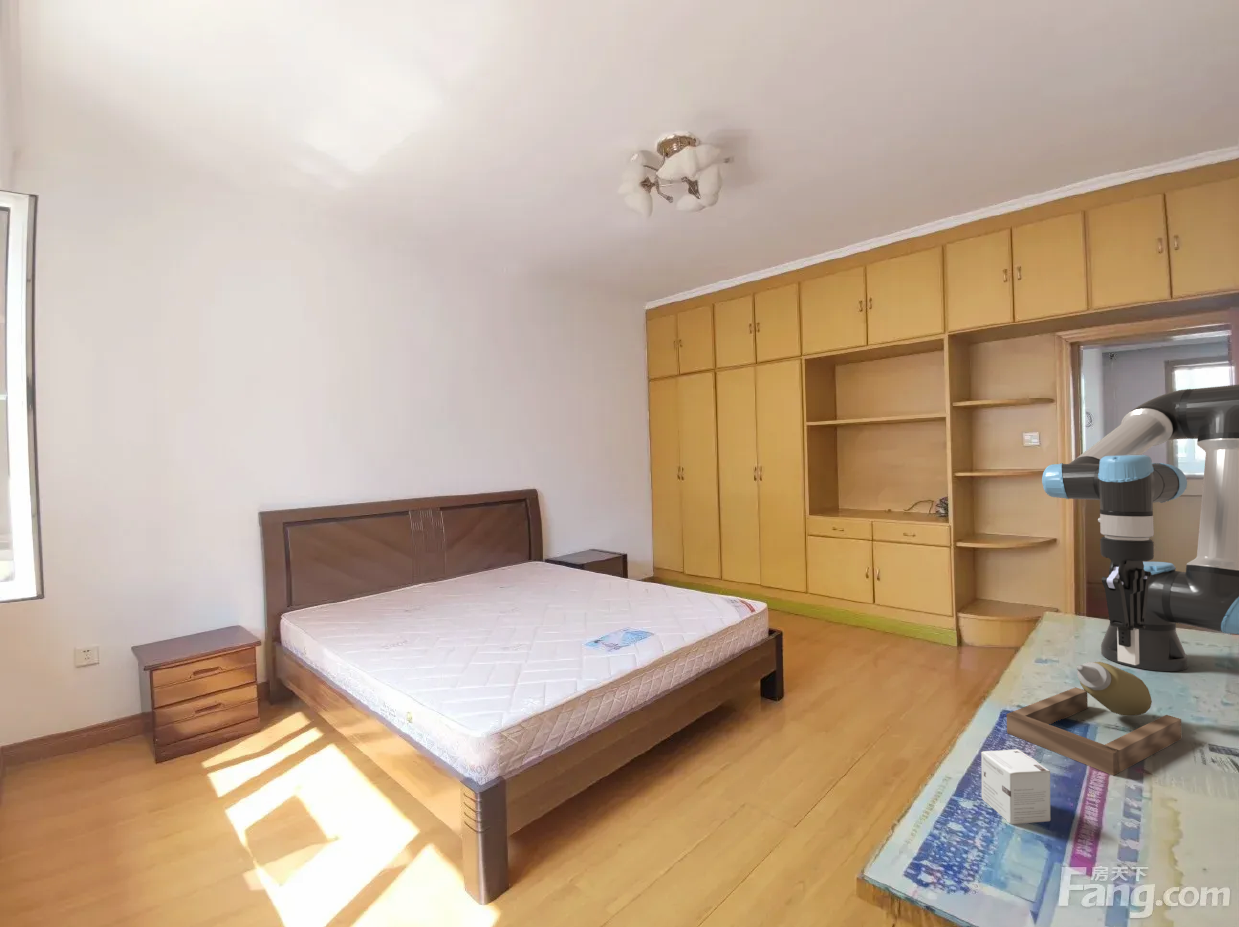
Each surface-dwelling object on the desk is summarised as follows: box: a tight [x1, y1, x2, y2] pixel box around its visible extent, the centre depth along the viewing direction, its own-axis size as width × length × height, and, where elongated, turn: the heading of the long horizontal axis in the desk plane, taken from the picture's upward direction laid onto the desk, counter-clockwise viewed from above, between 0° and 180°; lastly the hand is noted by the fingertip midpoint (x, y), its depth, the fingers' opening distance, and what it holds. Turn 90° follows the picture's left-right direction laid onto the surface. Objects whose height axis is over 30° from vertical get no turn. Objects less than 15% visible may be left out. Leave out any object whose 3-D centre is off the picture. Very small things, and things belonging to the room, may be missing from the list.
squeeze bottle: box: [1076, 661, 1153, 716], centre depth 106 cm, size 8×8×18 cm
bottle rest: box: [1006, 686, 1182, 776], centre depth 103 cm, size 23×16×4 cm
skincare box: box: [980, 748, 1051, 825], centre depth 83 cm, size 6×6×7 cm
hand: (1128, 662), depth 108 cm, fingers closed
